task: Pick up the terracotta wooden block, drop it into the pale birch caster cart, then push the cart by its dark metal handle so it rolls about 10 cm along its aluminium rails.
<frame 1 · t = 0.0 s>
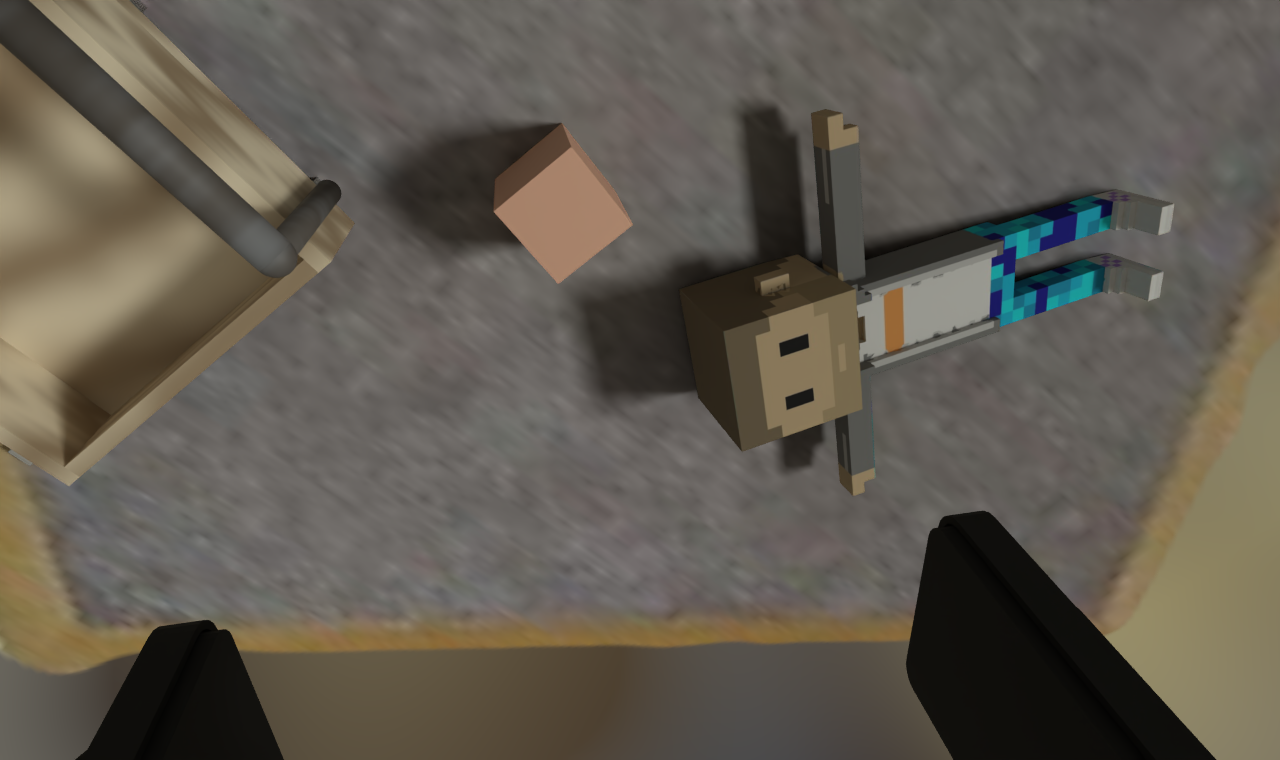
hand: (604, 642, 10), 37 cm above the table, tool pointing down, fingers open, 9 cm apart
cart: (62, 232, 33), point 9 cm above the table, slide at 0.0 cm
toy: (902, 283, 51), on the table
block: (556, 185, 44), on the table
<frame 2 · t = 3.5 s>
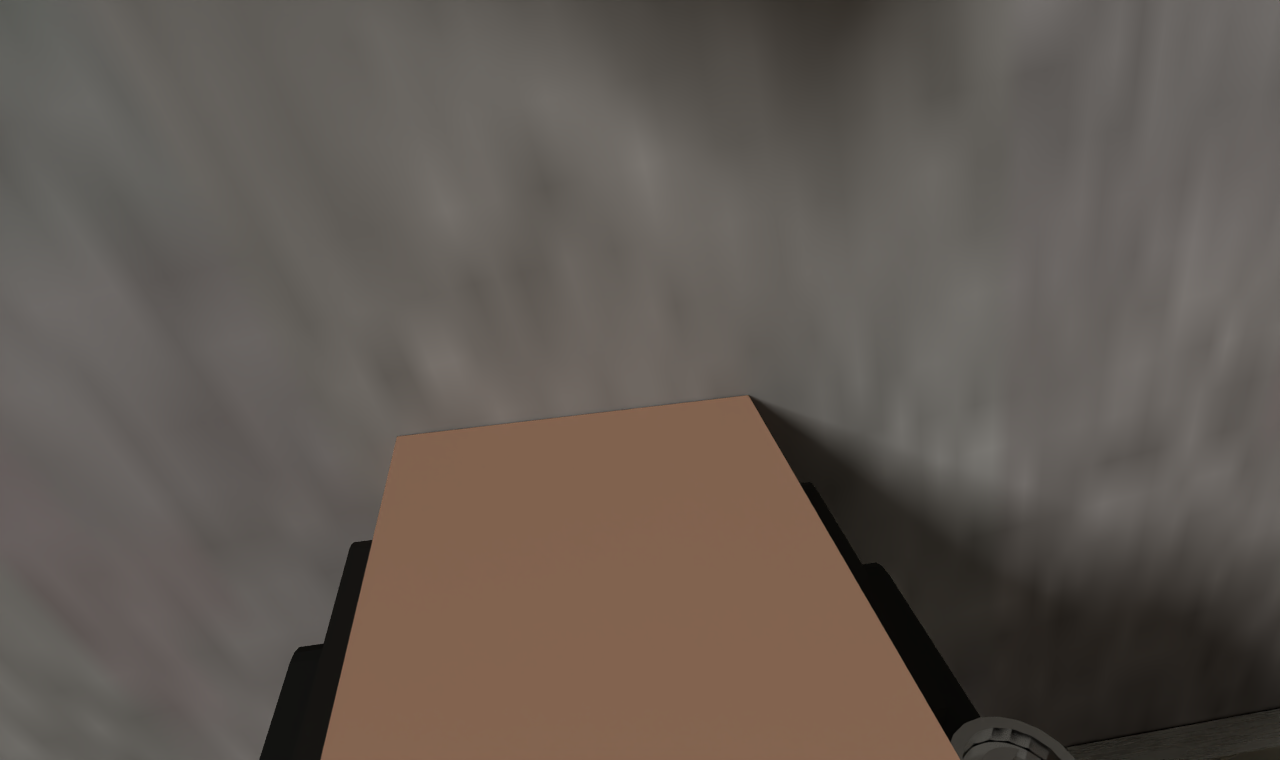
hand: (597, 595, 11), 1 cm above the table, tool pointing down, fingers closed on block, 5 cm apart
block: (590, 550, 12), on the table, touching gripper
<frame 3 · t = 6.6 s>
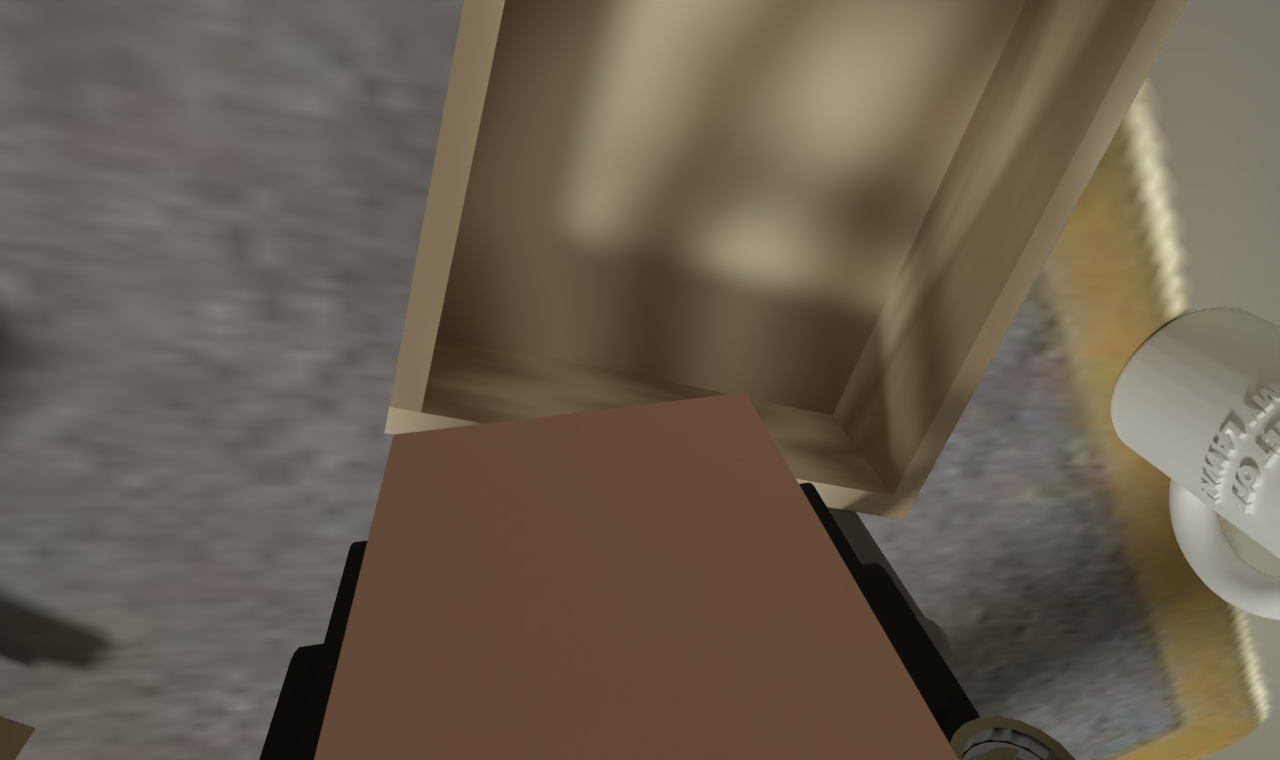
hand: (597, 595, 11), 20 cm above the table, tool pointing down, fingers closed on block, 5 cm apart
cart: (754, 190, 20), point 9 cm above the table, slide at 0.0 cm
mug: (1165, 415, 38), on the table
block: (588, 548, 12), point 19 cm above the table, touching gripper
when the fingers open (8 cm above the table, at t = 9.7 s): block drops 2 cm, resting on cart.
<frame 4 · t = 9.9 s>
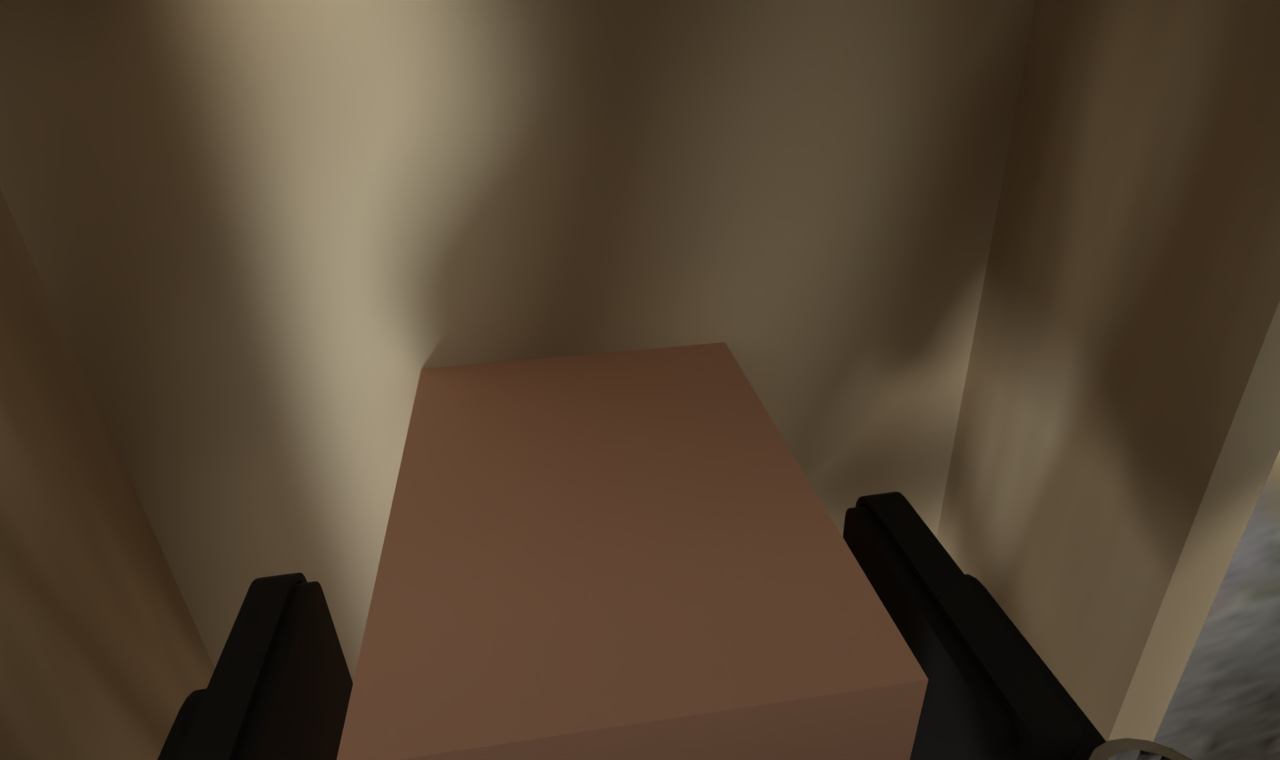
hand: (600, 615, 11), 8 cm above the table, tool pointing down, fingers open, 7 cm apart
cart: (603, 653, 11), point 9 cm above the table, slide at 0.0 cm, touching block
block: (585, 479, 14), point 5 cm above the table, touching cart
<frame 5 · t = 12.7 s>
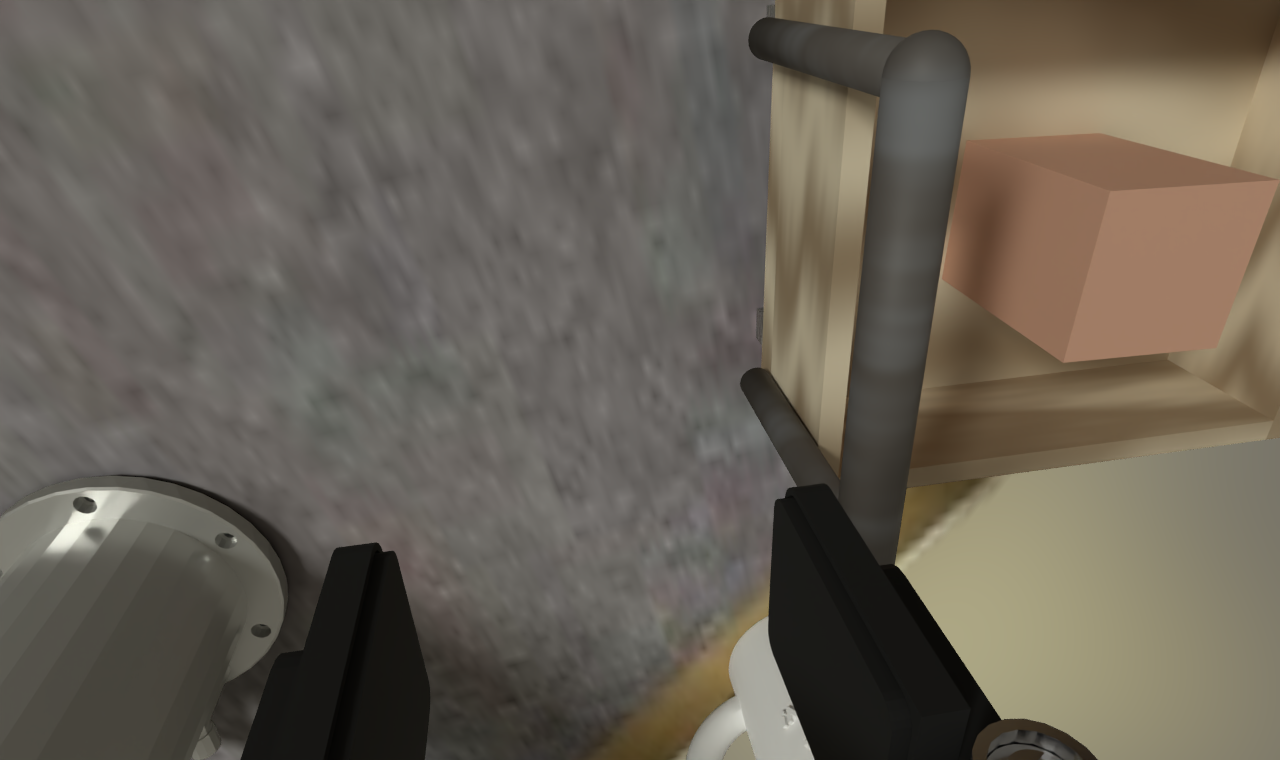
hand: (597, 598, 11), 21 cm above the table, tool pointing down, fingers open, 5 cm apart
cart: (1061, 235, 24), point 9 cm above the table, slide at 0.0 cm, touching block
mug: (760, 661, 44), on the table
block: (1018, 208, 27), point 5 cm above the table, touching cart
rails: (1055, 163, 32), on the table
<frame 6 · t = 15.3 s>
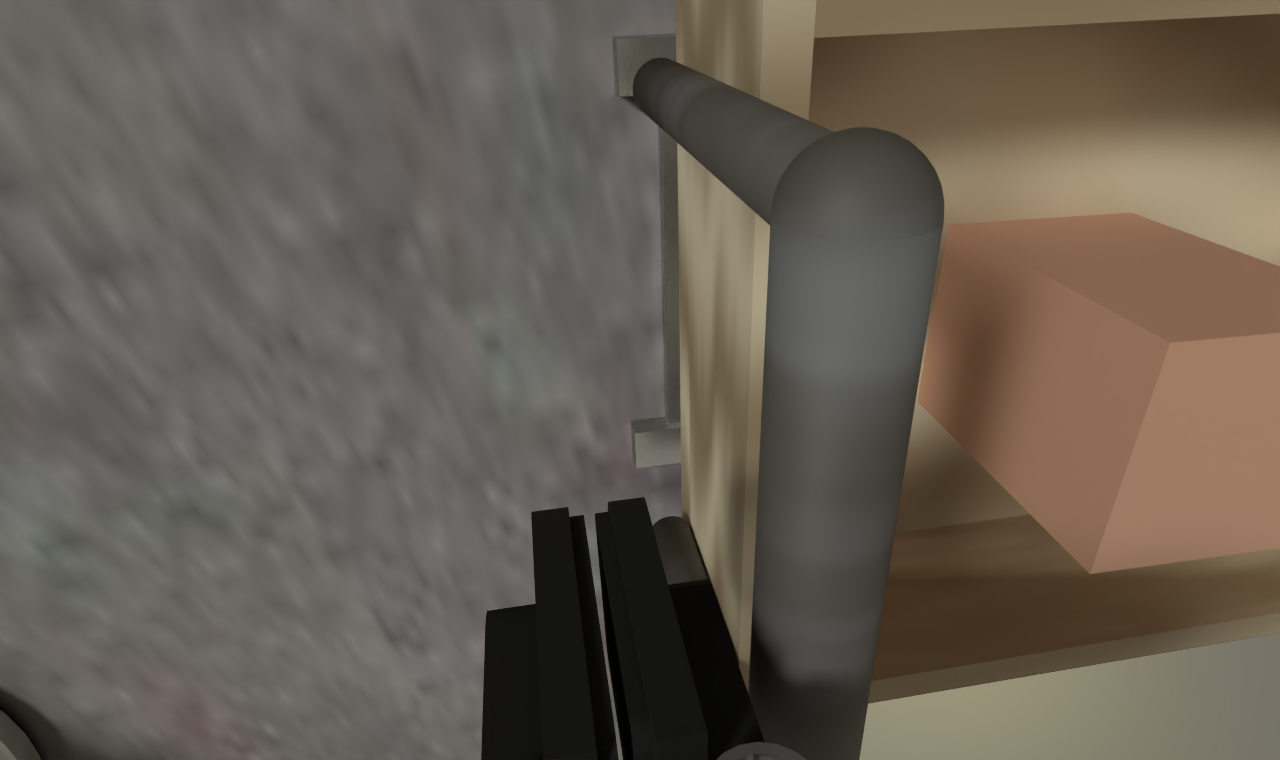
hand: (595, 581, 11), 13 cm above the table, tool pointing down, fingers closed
cart: (1081, 366, 17), point 9 cm above the table, slide at 1.9 cm, touching block, gripper
block: (1019, 310, 20), point 5 cm above the table, touching cart
rails: (1012, 239, 25), on the table
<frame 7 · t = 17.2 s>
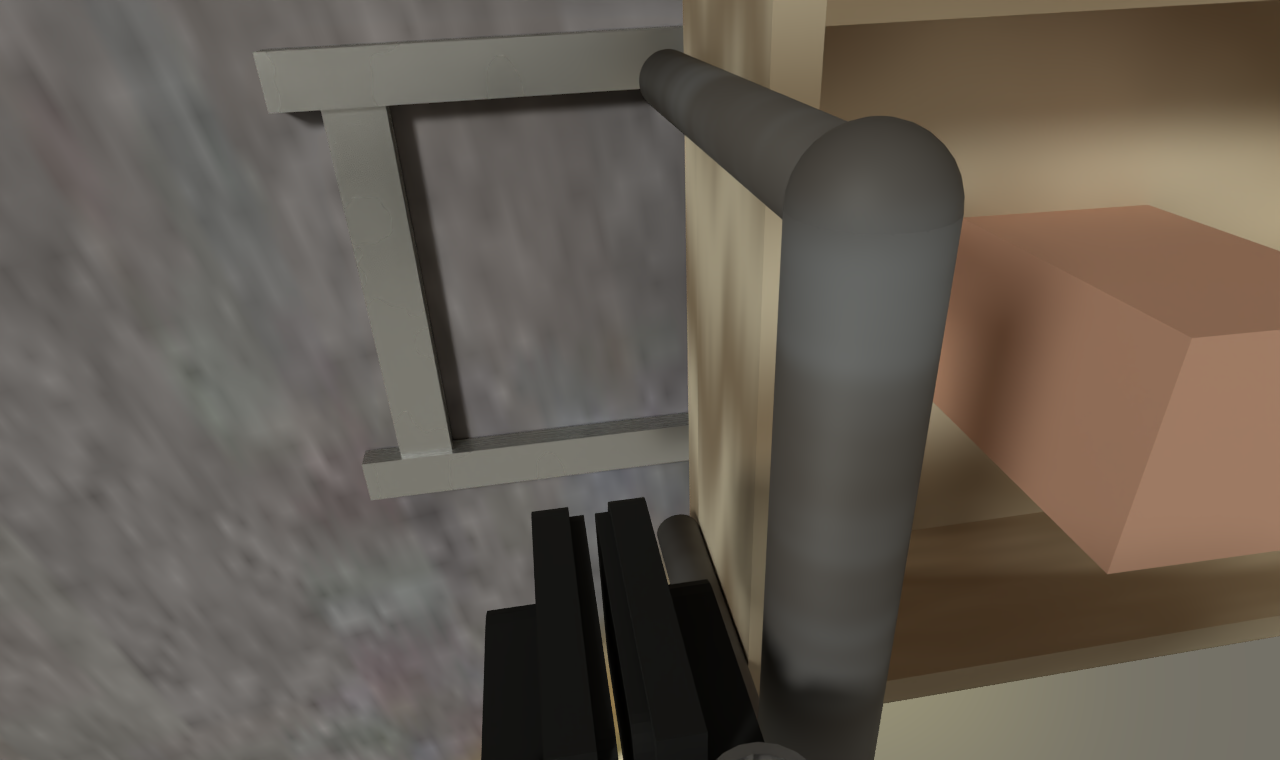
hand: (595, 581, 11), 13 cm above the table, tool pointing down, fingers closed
cart: (1098, 361, 17), point 9 cm above the table, slide at 10.9 cm, touching block, gripper
block: (1033, 305, 20), point 5 cm above the table, touching cart
rails: (758, 258, 24), on the table
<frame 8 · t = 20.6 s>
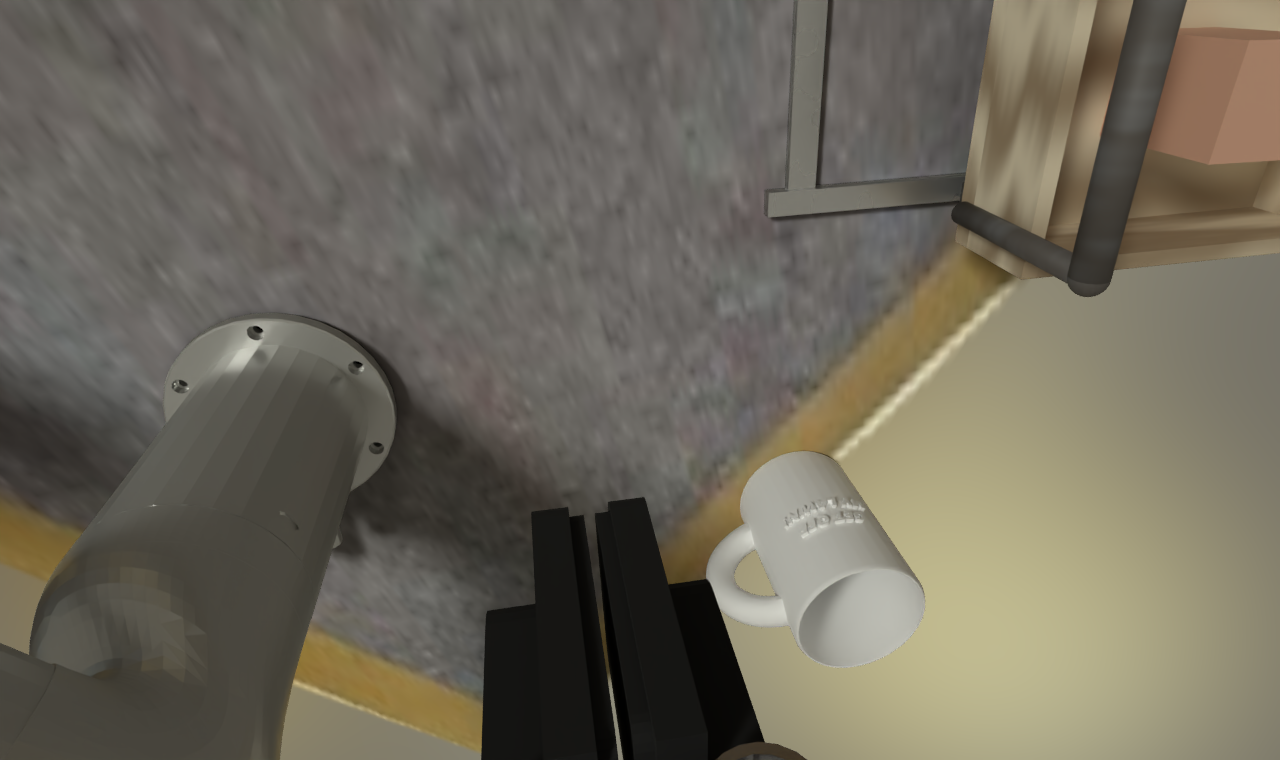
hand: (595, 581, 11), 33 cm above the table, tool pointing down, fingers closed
cart: (1198, 89, 35), point 9 cm above the table, slide at 10.9 cm, touching block
mug: (765, 502, 54), on the table
block: (1157, 82, 38), point 5 cm above the table, touching cart
rails: (992, 76, 42), on the table
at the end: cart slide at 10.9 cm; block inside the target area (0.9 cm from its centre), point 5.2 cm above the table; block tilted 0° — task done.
